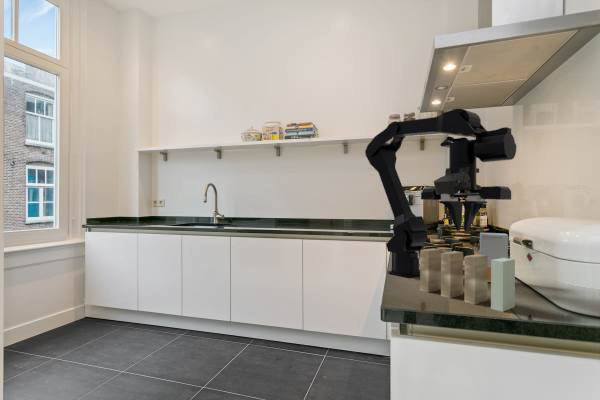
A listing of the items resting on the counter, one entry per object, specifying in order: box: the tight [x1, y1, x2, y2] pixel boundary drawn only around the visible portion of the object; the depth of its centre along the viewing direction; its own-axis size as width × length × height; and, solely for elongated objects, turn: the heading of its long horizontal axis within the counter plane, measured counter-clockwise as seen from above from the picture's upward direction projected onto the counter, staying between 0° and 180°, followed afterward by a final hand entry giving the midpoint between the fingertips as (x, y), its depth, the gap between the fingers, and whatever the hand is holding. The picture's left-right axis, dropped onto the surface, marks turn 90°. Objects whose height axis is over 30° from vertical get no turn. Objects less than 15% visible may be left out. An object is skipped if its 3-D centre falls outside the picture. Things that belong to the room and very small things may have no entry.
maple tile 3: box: [463, 253, 488, 305], centre depth 66 cm, size 2×5×9 cm, turn 125°
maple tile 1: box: [419, 247, 443, 293], centre depth 74 cm, size 2×5×9 cm, turn 125°
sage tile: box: [490, 257, 516, 313], centre depth 62 cm, size 2×5×9 cm, turn 125°
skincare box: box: [479, 232, 509, 283], centre depth 82 cm, size 6×4×12 cm
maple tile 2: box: [440, 250, 464, 299], centre depth 70 cm, size 2×5×9 cm, turn 125°
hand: (462, 231), depth 77 cm, fingers closed
